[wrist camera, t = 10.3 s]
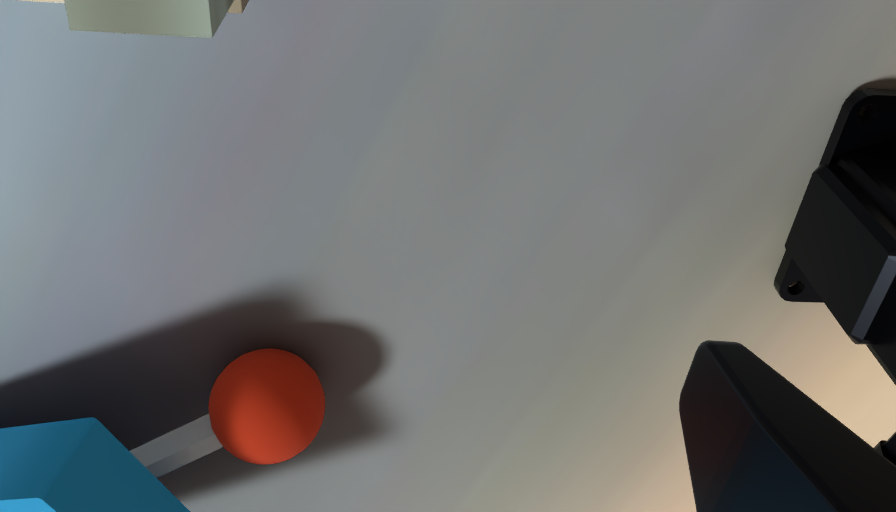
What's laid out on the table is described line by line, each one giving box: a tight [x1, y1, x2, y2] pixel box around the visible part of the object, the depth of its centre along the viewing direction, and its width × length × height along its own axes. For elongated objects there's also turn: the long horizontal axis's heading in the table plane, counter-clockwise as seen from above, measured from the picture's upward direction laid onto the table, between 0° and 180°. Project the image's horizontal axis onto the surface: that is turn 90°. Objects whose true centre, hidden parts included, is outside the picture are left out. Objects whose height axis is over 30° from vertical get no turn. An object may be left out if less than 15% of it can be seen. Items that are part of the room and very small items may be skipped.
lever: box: [0, 348, 325, 512], centre depth 25 cm, size 7×7×18 cm
